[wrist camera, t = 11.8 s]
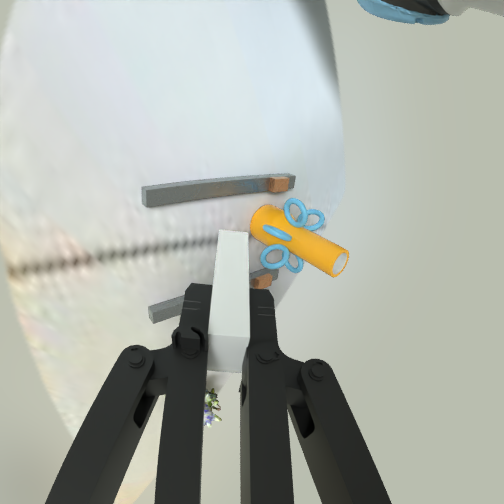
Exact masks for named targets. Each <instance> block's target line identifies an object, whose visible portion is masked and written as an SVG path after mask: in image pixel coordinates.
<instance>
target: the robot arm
mask: <svg viewBox="0 0 504 504" xmlns="http://www.w3.org/2000/svg"><path fill="white" fill-rule="evenodd" d="M357 1H358V3H359V4H360V6H361V7H362V8H363V9H364V10H365V11H367V12H369V13H370V14H372V15H375V16H377V17H380V18H384V19H387V20H392V21H396V22H403V23H410V24H414V23H421V24H424V25H434V24H442V23H444V22H446V21H447V20H448V19H449V16H450V15H453V16H459V15H461V14H462V13H463V12H464V11H466V10H467V9H468V8H470V7H471V8H475V9H479V10H483V11H486V12H490V13H493V14H497V15H500V16H503V17H504V0H357ZM207 370H210V371H221V372H235V373H241V371H242V381H241V385H240V388H239V392H240V393H241V394H240V405H241V406H240V447H241V449H240V456H241V457H240V463H241V464H240V465H241V466H240V467H241V468H240V471H241V472H240V473H241V504H294V495H293V480H292V465H291V451H290V438H289V426H288V413H287V409H288V412H289V415H290V417H291V420H292V423H293V426H294V429H295V431H296V434H297V437H298V440H299V443H300V445H301V448H302V450H303V453H304V456H305V459H306V462H307V464H308V467H309V470H310V472H311V475H312V478H313V480H314V483H315V486H316V488H317V491H318V494H319V496H320V499H321V502H322V504H392V503H391V501H390V499H389V496H388V494H387V491H386V489H385V487H384V485H383V482H382V480H381V477H380V475H379V473H378V470H377V468H376V466H375V464H374V461H373V459H372V457H371V454H370V452H369V450H368V447H367V445H366V443H365V441H364V439H363V436H362V434H361V432H360V429H359V427H358V425H357V423H356V420H355V419H354V416H353V414H352V412H351V409H350V407H349V405H348V403H347V401H346V398H345V396H344V394H343V392H342V390H341V388H340V385H339V383H338V381H337V379H336V377H335V374H334V372H333V370H332V368H331V367H330V366H329V364H327V363H326V362H325V361H323V360H320V359H310V360H308V361H306V362H305V363H304V362H301V361H298V360H294V359H292V358H289V357H288V356H286V355H285V354H284V353H283V352H282V351H281V350H280V348H279V346H278V341H277V329H276V320H275V309H274V298H273V297H272V295H271V293H270V292H269V290H266V289H255V288H249V252H248V232H239V231H230V230H221V229H219V237H218V245H217V254H216V262H215V271H214V280H213V285H206V284H197V283H191V284H190V286H189V287H188V288H187V289H186V291H185V296H184V302H183V306H182V312H181V317H180V323H179V327H177V328H176V329H175V330H174V332H173V334H172V344H171V345H170V346H168V347H166V348H162V349H157V350H150V351H149V349H147V348H146V347H144V346H140V345H133V346H129V347H127V348H125V349H124V350H123V351H122V353H121V354H120V356H119V357H118V359H117V361H116V363H115V364H114V366H113V368H112V370H111V372H110V373H109V375H108V377H107V379H106V380H105V382H104V384H103V386H102V388H101V390H100V391H99V393H98V395H97V397H96V399H95V401H94V403H93V404H92V406H91V408H90V410H89V412H88V414H87V416H86V418H85V420H84V422H83V424H82V426H81V428H80V429H79V431H78V433H77V435H76V437H75V439H74V441H73V444H72V446H71V448H70V450H69V452H68V454H67V456H66V458H65V460H64V462H63V464H62V467H61V469H60V471H59V473H58V475H57V477H56V480H55V482H54V484H53V486H52V489H51V491H50V493H49V495H48V498H47V500H46V503H45V504H113V503H114V500H115V498H116V495H117V493H118V490H119V488H120V486H121V483H122V481H123V478H124V476H125V473H126V471H127V469H128V466H129V464H130V462H131V459H132V457H133V454H134V452H135V450H136V447H137V445H138V443H139V440H140V438H141V436H142V434H143V431H144V429H145V427H146V424H147V422H148V420H149V417H150V415H151V413H152V411H153V408H154V406H155V404H156V402H157V399H158V397H159V395H164V394H166V397H165V404H164V412H163V420H162V428H161V436H160V445H159V455H158V465H157V478H156V490H155V503H154V504H200V499H201V468H202V445H203V425H204V408H205V393H206V376H207Z"/></svg>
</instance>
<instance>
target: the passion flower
mask: <svg viewBox="0 0 504 504" xmlns="http://www.w3.org/2000/svg"><path fill="white" fill-rule="evenodd" d="M165 397H166V394H165ZM216 398H217V394H215V393H214V388H212V390H211V392H209V391H207V390H206V393H205V408H204V425H207V426H208V427H209V428H211V422H210V421H212V420H213V421H215V420H216V421H221V418H219V417H218V416H217V415H215V414H214V413H213V412H212V408H213V409H216V410H218V411H219V410H221V409H220V408H216V407H214V406H212V403H211V401H213V402H214V405H218V402H219V401H218V400H216ZM211 406H212V407H211ZM218 406H219V405H218ZM219 407H220V406H219Z"/></svg>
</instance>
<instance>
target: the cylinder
mask: <svg viewBox="0 0 504 504" xmlns="http://www.w3.org/2000/svg"><path fill="white" fill-rule="evenodd" d="M291 204H296V205H297V206H298V207H299V208H300V210H301V214H300V215H299V217H298V219H297V221H296V220H295V218H294V216H293V215H292V214H290V211H289V208H290V205H291ZM311 214H315V215H317V216H319V221H318V223H316V224H315V225H312V226H305V224H306V222H307V219H308V215H311ZM324 220H325V218H324V215H323V213H322V212H320V211H319V210H315V209H310V210H306V207H305V206H304V204H303V203H302V202H301V201H300V200H298V199H296V198H291V199H288V200H287V201H286V203H285V205H284V210H282V209H280V208H278V207H276V206H273V205H264V206H262V207H260V208H259V209H258V210H257V211H256V212H255V214H254V215H253V217H252V220H251V224H250V231H251V234H252V236H253V237H254V238H255V239H257V240H259V241H260V242H262V243H263V244H265V245H267V246H268V247H267V248H266V249H265V250H264V251H263V252H262V254H261V258H260V260H261V263H262V265H263V266H264V267H266V268H268V269H277V268H280V267H282V266H283V265H285V266H286V267H287V269H288V270H290V271H291V272H293V273H298V272H300V271H301V270H302V269H303V260H305V261H306V262H308V263H310V264H312V265H313V266H315V267H317V268H318V269H320V270H322V271H323V272H325V273H327V274H328V275H330V276H331V277H336V276H338V275H339V274H340V273H341V272H342V271H343V269H344V268H345V266H346V264H347V261H348V258H349V252H348V250H346V249H344V248H342V247H340V246H339V245H337V244H335V243H333V242H331V241H329V240H327V239H325V238H323V237H321V236H319V235H317V234H316V233H314V232H312V231H314V230H317V229H319V228H320V227H321V226H322V225H323V223H324ZM275 249H280V250H282V251H283V253H282V260H281V261H279V262H277V263H274V264H271V263H268V262H267V261H266V256H267V254H268V253H269V252H270V251H272V250H275ZM289 252H291V253H293V254H294V255H295V256H296V258H297V260H298V267H297V268H294V267H292V266H291V265H290V263H289V261H288V259H289V256H290V253H289Z"/></svg>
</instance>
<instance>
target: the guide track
mask: <svg viewBox="0 0 504 504" xmlns="http://www.w3.org/2000/svg"><path fill="white" fill-rule="evenodd" d="M295 177H296V176H294V175H292V174H269V175H253V176H239V177H226V178H215V179H204V180H194V181H185V182H176V183H168V184H160V185H152V186H145V187H142V204H143V205H144V206H145V207H152V206H158V205H164V204H170V203H177V202H183V201H190V200H197V199H204V198H211V197H219V196H226V195H234V194H242V193H251V192H260V191H271V192H273V193H274V192H283V191H288V189H289V188H294V183H295ZM278 272H279V269H268V268H265V269H262V270H259V271H256V272H253V273H250V274H249V288H255V289H263V288H266V287H268V286H271V282H272V281H273V280H276V279H277V277H278ZM184 296H185V295H184ZM184 296H180V297H177V298H174V299H171V300H168V301H165V302H162V303H159V304H155V305H152V306H149V307H148V310H149V318H150V319H151V321H152V322H153V324H154V323H157V322H160V321H163V320H166V319H169V318H172V317H175V316H178V315H180V314H181V312H182V306H183V302H184Z"/></svg>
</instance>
